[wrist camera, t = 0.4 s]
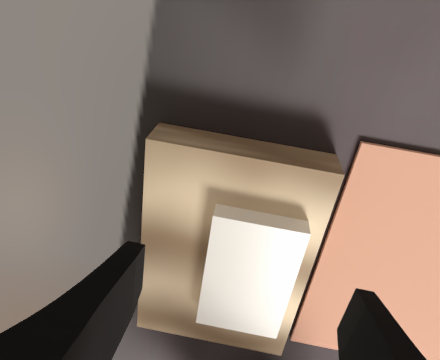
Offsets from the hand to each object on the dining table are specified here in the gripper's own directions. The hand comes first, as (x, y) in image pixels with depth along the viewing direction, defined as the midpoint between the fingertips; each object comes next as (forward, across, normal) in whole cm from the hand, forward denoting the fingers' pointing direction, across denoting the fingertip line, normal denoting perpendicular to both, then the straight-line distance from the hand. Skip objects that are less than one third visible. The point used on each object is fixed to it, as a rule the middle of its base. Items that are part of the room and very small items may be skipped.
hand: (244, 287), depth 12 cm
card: (+7, -1, +5) cm, 9 cm away
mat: (+10, -11, +5) cm, 15 cm away
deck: (+10, +1, +5) cm, 11 cm away
